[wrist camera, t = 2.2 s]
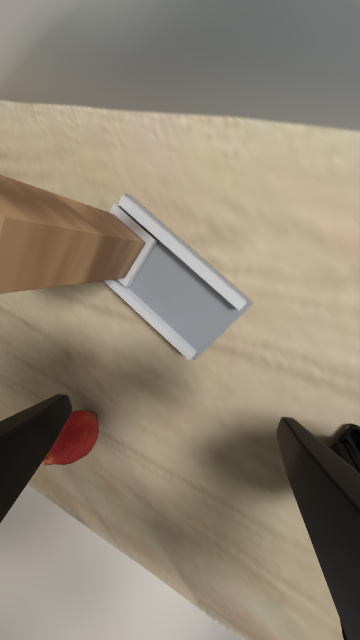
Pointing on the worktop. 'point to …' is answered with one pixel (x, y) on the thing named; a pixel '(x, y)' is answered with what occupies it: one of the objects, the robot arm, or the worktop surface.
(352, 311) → the worktop surface
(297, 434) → the robot arm
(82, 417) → the onion
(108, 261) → the brown rectangular block
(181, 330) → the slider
